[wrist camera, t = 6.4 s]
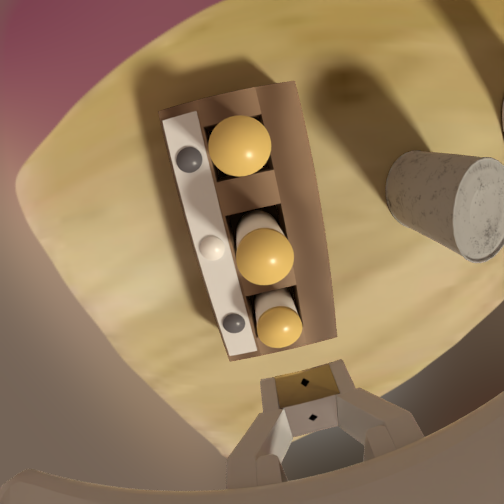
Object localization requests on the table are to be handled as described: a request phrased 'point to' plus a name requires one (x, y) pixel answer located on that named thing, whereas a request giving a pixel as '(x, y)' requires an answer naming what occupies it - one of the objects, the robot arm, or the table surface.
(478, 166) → the grey concrete cylinder
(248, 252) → the middle button
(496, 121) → the table surface
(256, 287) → the button board
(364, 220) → the table surface
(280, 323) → the button
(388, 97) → the table surface
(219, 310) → the strip
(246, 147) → the button
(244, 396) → the table surface
